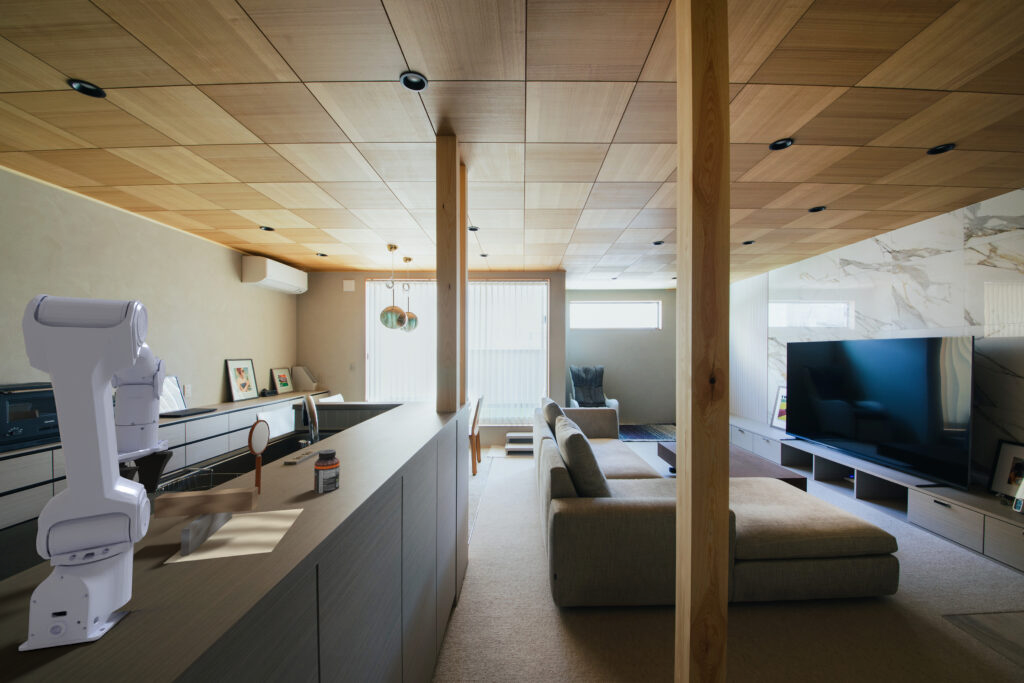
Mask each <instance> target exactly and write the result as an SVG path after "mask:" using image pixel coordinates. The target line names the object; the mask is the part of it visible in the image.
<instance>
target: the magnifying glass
mask: <svg viewBox="0 0 1024 683" xmlns="http://www.w3.org/2000/svg"><path fill="white" fill-rule="evenodd" d="M270 432H271V431H270V426H269V424H268V421H266V420H265V419H258V420H256V421H255V422H253V424H252V425H251V427H250V429H249V432H248V436H247V437H248V438H247V446H248V449H249V452H250V454H252V455H255V473H254V478H255V479H254V487H258V496H259V495H261V486H262V455H261V454H263V453H264V451H265V450H266V449H267V447H268V445H269V441H270V436H271V435H270V434H271V433H270Z"/></svg>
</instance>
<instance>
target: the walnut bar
mask: <svg viewBox="0 0 1024 683" xmlns="http://www.w3.org/2000/svg"><path fill="white" fill-rule="evenodd" d="M258 505H259V495H258V487H255V486H253V487H251V486H250V487H239V488H226V489H212V490H211V489H210V490H196V491H184V492H183V491H182V492H173V493H172V492H169V493H168V492H167V493H162V494H161V495H159V496H157V497H155V498H154V505H153V506H154V507H153V508H154V510H153V512H154V513H153V519H163V518H164V519H165V518H166V519H167V518H177V517H187V516H188V517H189V516H201V515H203V514H215V513H227V512H232V513H237V512H245V511H246V512H249V511H253V510H255V508H256V507H257V506H258Z"/></svg>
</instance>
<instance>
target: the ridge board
mask: <svg viewBox="0 0 1024 683" xmlns="http://www.w3.org/2000/svg"><path fill="white" fill-rule="evenodd" d="M303 511H304V508H296V509H295V508H294V509H285V510H284V509H282V510H281V509H280V510H270V511H258V512H247V513H246V512H245V513H235V514H234V513H233V512H227V513H215V514H203V515H199V516H198V517H197V518H195V519H194V520H193V521H191V522H190V523H189V524H188V525H186V526H185V527H183V528H182V529H181V533H180V534H181V536H180V537H181V538H180V540H181V541H180V549H179V550H178V551H177V552H175V554H173V555H172V556H171V557H169V558H168V559H167V560H166V561H165V562H163V564H164V565H165V564H171V563H172V564H173V563H180V562H181V563H182V562H191V561H201V560H210V559H219V558H227V557H228V558H229V557H236V556H237V557H238V556H246V555H256V554H265V553H272V551H274V549H275V548H276V547H277V545H278V544H279V543H280V541H281V539H282V538H283V537H284V536H285V534H286V533H287V532H288V530H289V529H290V528H291V526H292V525H293V524H294V522H296V520H297V518H298V517H299V516H300V515H301V514H302V512H303Z"/></svg>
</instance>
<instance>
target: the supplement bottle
mask: <svg viewBox="0 0 1024 683" xmlns="http://www.w3.org/2000/svg"><path fill="white" fill-rule="evenodd" d="M313 472H314V473H313V474H314V478H313V479H314V481H313V491H314V493H318V494H325V493H332V492H334V491H337V490H339V489H340V459H339V458H338V457H337V452H336V450H335V449H323V450H320V451H318V459H317V460H316V461H315V462H314V470H313Z"/></svg>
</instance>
